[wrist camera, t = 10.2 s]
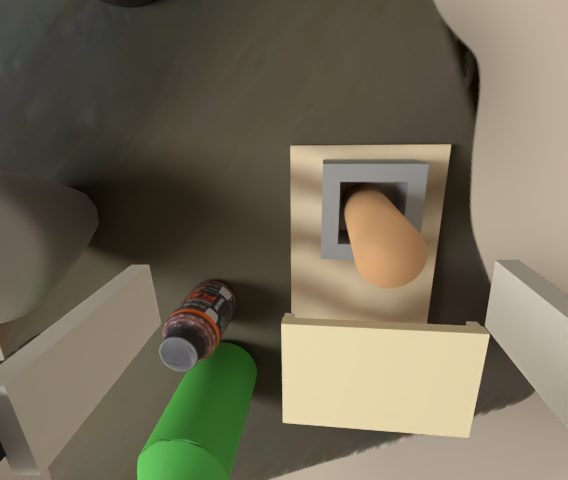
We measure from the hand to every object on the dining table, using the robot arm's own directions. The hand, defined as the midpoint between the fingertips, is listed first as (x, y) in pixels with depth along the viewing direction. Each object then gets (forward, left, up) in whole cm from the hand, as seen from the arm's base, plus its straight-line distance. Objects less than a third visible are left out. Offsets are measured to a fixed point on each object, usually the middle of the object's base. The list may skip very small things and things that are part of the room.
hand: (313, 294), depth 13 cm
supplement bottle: (+14, -13, -26) cm, 32 cm away
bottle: (+24, -12, -26) cm, 38 cm away
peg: (+1, +5, -24) cm, 25 cm away
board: (+6, +5, -26) cm, 27 cm away
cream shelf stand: (+12, +5, -24) cm, 28 cm away
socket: (+1, +5, -24) cm, 25 cm away
